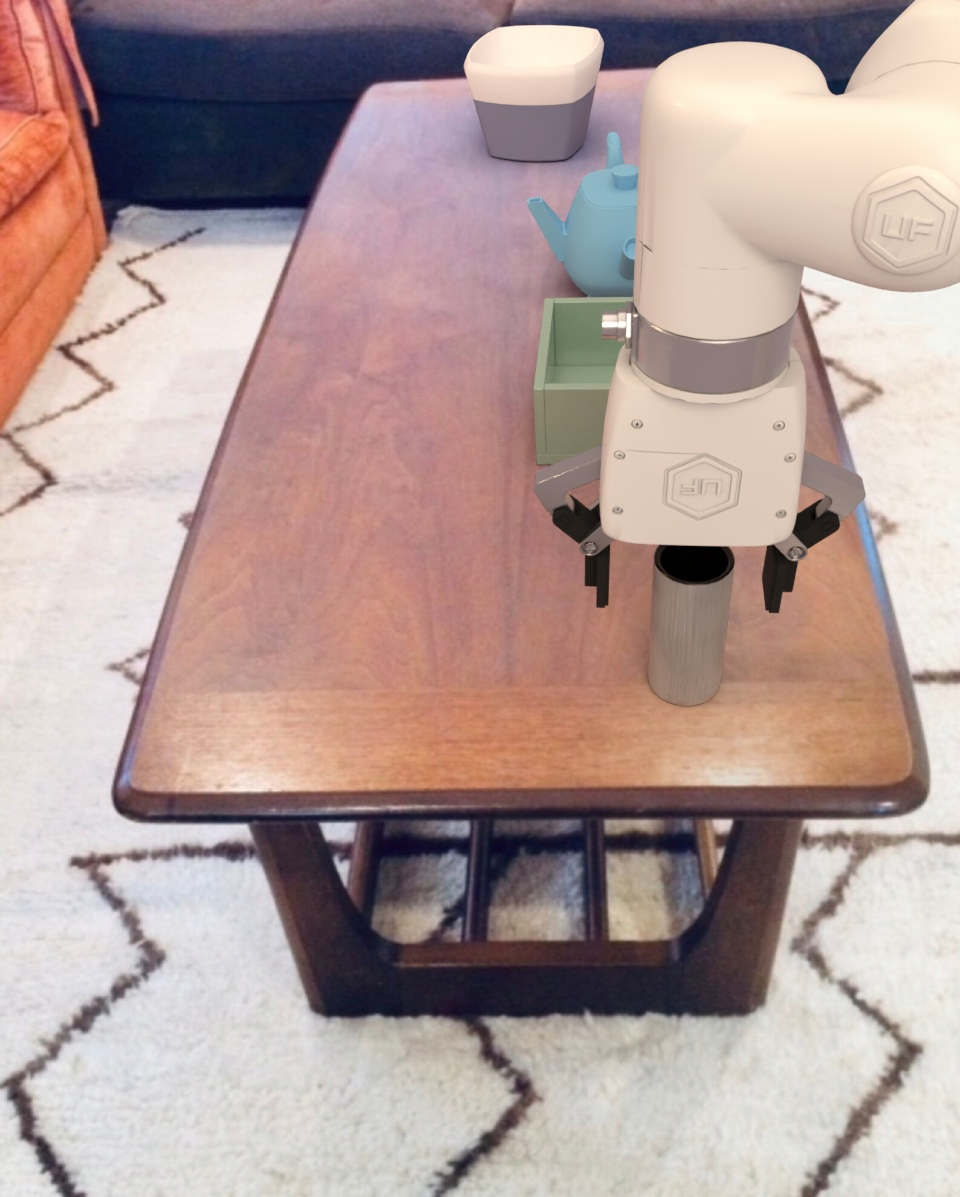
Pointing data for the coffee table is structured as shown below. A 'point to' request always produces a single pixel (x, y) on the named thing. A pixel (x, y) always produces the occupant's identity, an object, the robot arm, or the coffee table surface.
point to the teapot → (597, 228)
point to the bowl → (534, 89)
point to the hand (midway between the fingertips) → (685, 593)
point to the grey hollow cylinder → (689, 621)
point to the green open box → (573, 376)
